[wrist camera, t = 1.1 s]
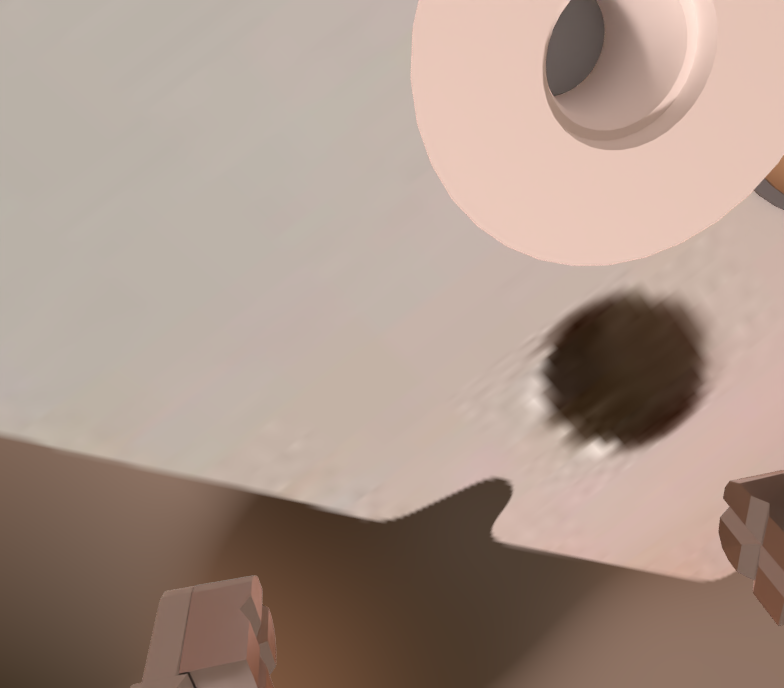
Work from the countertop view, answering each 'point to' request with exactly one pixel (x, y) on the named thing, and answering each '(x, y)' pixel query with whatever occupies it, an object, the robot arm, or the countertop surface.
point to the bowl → (600, 121)
